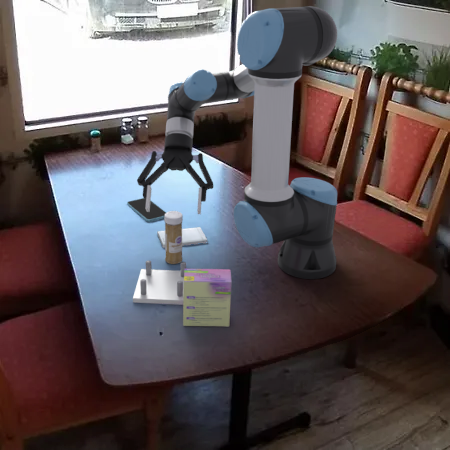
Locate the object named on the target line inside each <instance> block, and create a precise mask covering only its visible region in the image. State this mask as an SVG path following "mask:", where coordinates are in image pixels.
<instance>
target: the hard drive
mask: <svg viewBox="0 0 450 450" xmlns="http://www.w3.org/2000/svg"><path fill="white" fill-rule="evenodd" d="M157 237H158V239H159V242H160V244H161V246H162V248H163V249H165V230H160V231H157ZM206 242H207V243H208V238H207V237H206V234H205V232H203V230H202V228H201V226H199V227H189V228H182V247H183V246H184V245H186V246H192V245H191V244H194V245H199V244H198V243H203V244H207V243H206Z"/></svg>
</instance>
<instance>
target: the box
mask: <svg viewBox="0 0 450 450" xmlns="http://www.w3.org/2000/svg"><path fill="white" fill-rule="evenodd" d="M231 271H232V270H231V269H225V268H223V269H222V268H221V269H220V268H186V269H185V270H184V290H183V305H182V307H183V308H182V309H183V311H182V312H183V313H182V317H183V318H182V325H183V326H184V327H225V328H226V327H227V328H228V327H230V324H231V323H230V321H231V318H230V317H231V303H232V301H231V300H232V273H231Z"/></svg>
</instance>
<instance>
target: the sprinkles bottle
mask: <svg viewBox="0 0 450 450" xmlns="http://www.w3.org/2000/svg"><path fill="white" fill-rule="evenodd" d="M183 217H184V216H183V213H182V212H180V211H178V210H172V211H171V210H170V211H166V214H165V217H164V219H163V220H164V225H165V226H164V227H165V228H164V231H165V248H164V249H165V259H164V261H165V262H166V263H168V264H169V265H170V264H171V265H177V264H181V262H183V246H182V229H183Z"/></svg>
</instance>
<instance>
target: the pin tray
mask: <svg viewBox="0 0 450 450" xmlns="http://www.w3.org/2000/svg"><path fill="white" fill-rule="evenodd" d="M185 269H187V262H185V261H181V262H180V270H170V269H169V270H168V269H153V268H152V261H151V260H146V261H145V268H141V269H140V272H139V276H138V280H137V283H136V287H135V289H134V294H133V297H132V303H136V304H137V303H139V304H158V305H159V304H161V305H180V306H181V305H182V306H183V290H184V270H185Z"/></svg>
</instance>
